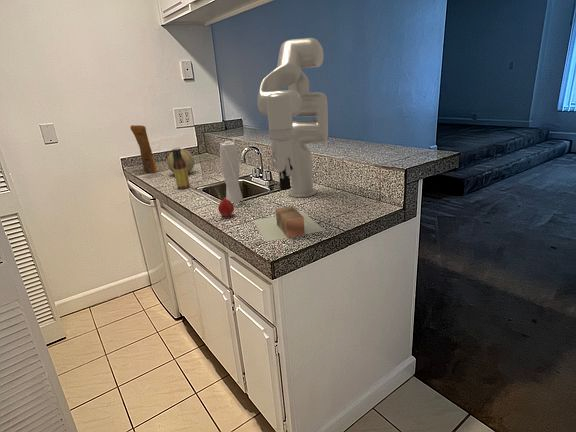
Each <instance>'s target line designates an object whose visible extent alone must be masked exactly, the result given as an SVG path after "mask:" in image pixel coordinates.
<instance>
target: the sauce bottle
mask: <svg viewBox="0 0 576 432" xmlns="http://www.w3.org/2000/svg"><path fill="white" fill-rule="evenodd" d="M181 149H182V148H180V147H176V148H172V149H171V152H173V156H174V161H173V169H174V178H175V183H176V186H177V188H178V189H179V190H185V189H188V188H190V178H189V172H188V173H187V168H186V164H185V161H184V159H183V158H182V156H181Z"/></svg>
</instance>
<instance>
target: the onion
mask: <svg viewBox="0 0 576 432" xmlns="http://www.w3.org/2000/svg"><path fill="white" fill-rule="evenodd" d="M234 206H235V205H233V204H232V203H231V202H230V201H229V200H227V199H226V197H224V198H223V199H222V200H221V201H220V203H219V204H218V212H219V213H220V215H222V216H223V217H224V218H229V217H230V216H231V215H232V214H233V213H234V210H235V207H234Z"/></svg>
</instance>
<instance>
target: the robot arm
mask: <svg viewBox="0 0 576 432" xmlns="http://www.w3.org/2000/svg"><path fill="white" fill-rule="evenodd" d="M323 62H324V49H323V46H322V44H321V43H320V42H319V40H318V39H316V38H314V37H306V38H293V39H288V40H285V41H284V42H283V43H282V44H281V45H280V49H279V51H278V59H277V64H276V67H275V68H274V70H272V71H271V72H270V73H268V74H267V75H266V76H265V77H264V78H263V79H262V81H261V83H260V86H259V89H258V95H257V102H256V103H257V108H258V110H259V113H260V114H261V115H264V116H267V119H268V131H269V132H268V133H269V140H270V141H271V142H270V143H271V144H270V146H271V165H272V167H273V168H274V169H276V170H277V171H278V177H279V188H280V190H281V191H287V190H288V196H290V197H292V198H293V197H294V198H309V197H313V196H315V195H316V194H317V193H318V192H317V191H318V190H317V189H316V188H315V187H314V181H313V178H314V177H313V176H314V175H313V155H312V151H311V150H310V148H309V147H308V146H307V145H306V144H323V143H325V142H326V141H327V140H328V137H329V115H328V114H329V113H328V111H329V109H328V97H327V95H326V94H325V93H324V92H320V91H315V92H310V81H309V78H308V76H307V75H306V74H305V73H304V71H302V69H310V68H319V67H321V66H322V65H323ZM287 87H288V88H287ZM285 88H287V89H285ZM282 89H284V90H282ZM293 117H294V118H312V117H313V118H314V117H315V118H316V119H305V120H302V119H301V120H298V119H297V120H293ZM312 195H313V196H312Z"/></svg>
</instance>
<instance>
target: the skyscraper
mask: <svg viewBox="0 0 576 432" xmlns="http://www.w3.org/2000/svg"><path fill="white" fill-rule="evenodd" d="M219 146H220V147H219V148H220V149H219V153H220V155H219V156H220V157H219V158H220V168H221V172H222V175H223V179H224V183H225V185H226V187H225V188H226V191H225V194H226V196H225V198H226V199H227V200H229V201H230V202H233V203H234V204H235V205H236V204H238V203H239V202H240V201H243V200H244V199H243V198H244V197H243V195H242V191H241V188H240V184H239V180H240V168H241V167H240V158H239V154H238V149H237V146H236V139H235V137H232V141H231V140H227V141H224V142H223V143H222V142H220V143H219ZM235 205H234V206H235ZM238 205H239V204H238Z"/></svg>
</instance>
